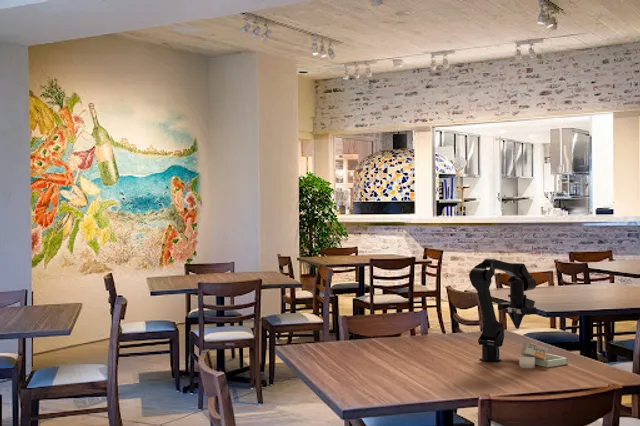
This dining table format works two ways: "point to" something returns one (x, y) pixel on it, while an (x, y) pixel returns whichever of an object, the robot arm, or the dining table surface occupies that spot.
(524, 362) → the white rounded block
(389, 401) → the dining table surface
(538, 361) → the squared c-shaped bracket
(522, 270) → the robot arm
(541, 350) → the supplement box
